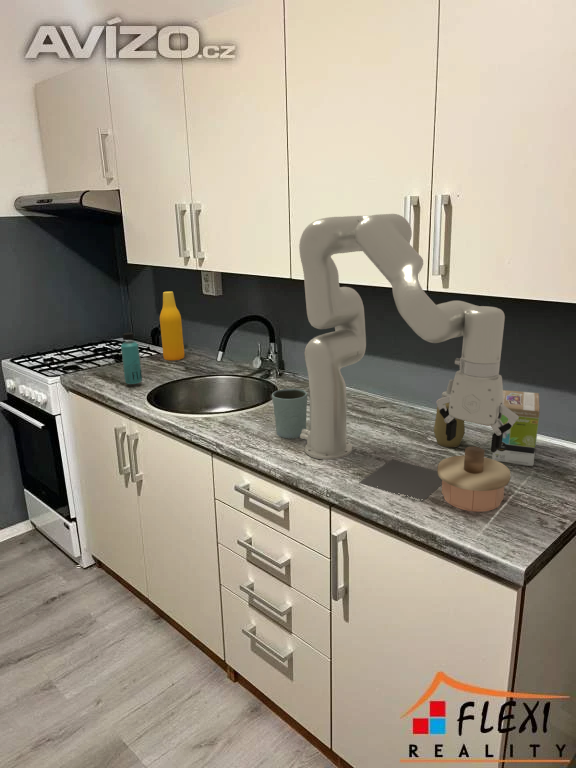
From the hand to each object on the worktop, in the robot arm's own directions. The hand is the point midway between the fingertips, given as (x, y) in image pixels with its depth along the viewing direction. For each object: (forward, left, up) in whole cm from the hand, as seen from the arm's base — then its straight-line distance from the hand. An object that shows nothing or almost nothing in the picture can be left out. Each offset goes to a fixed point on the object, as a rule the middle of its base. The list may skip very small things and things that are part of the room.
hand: (472, 444), depth 125 cm
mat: (-15, 0, -13) cm, 20 cm away
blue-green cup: (-57, +8, -13) cm, 59 cm away
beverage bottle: (-135, +13, -13) cm, 136 cm away
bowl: (+1, 0, -13) cm, 13 cm away
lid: (+1, 0, -7) cm, 7 cm away
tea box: (0, +30, -13) cm, 33 cm away
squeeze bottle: (-16, +26, -13) cm, 33 cm away
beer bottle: (-154, +48, -13) cm, 162 cm away
